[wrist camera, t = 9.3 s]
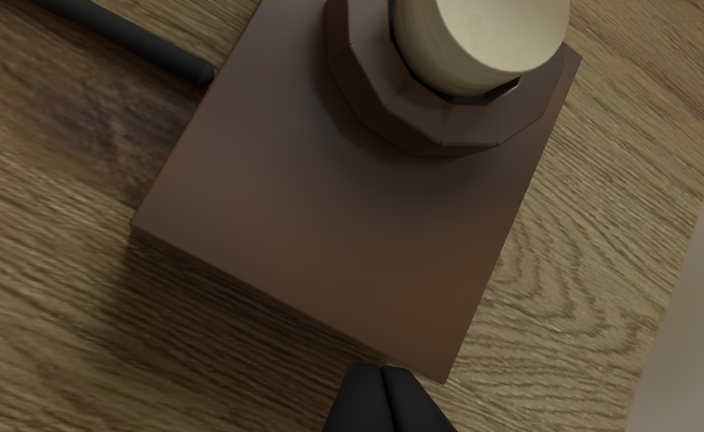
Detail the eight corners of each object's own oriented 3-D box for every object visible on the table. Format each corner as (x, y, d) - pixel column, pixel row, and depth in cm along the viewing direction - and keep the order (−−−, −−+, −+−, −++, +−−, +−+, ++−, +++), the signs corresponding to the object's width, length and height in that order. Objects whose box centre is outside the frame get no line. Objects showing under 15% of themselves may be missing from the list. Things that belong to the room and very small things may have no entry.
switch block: (387, 362, 21) (478, 400, 15) (129, 231, 18) (125, 220, 13) (514, 81, 24) (630, 26, 18) (306, -69, 21) (368, -188, 15)
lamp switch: (483, 124, 16) (536, 103, 14) (368, 45, 15) (406, 10, 13) (533, 13, 17) (591, -23, 15) (428, -69, 16) (473, -120, 14)
